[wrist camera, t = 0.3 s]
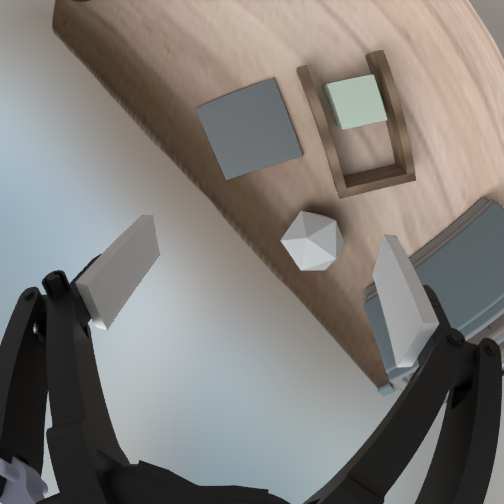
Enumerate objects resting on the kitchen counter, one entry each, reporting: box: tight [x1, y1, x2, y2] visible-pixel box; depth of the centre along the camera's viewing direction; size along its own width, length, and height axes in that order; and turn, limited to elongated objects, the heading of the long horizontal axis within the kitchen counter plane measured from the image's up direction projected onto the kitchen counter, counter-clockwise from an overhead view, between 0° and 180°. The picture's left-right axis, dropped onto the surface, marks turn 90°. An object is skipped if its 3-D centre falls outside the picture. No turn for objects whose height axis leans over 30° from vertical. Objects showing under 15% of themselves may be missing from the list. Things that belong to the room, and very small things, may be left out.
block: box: [323, 74, 387, 130], centre depth 29 cm, size 6×6×6 cm
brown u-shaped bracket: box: [297, 50, 416, 199], centre depth 31 cm, size 18×11×5 cm, turn 21°
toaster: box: [364, 198, 504, 397], centre depth 36 cm, size 19×35×20 cm, turn 138°
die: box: [280, 211, 344, 270], centre depth 40 cm, size 8×9×10 cm
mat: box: [196, 78, 303, 180], centre depth 36 cm, size 12×12×1 cm
